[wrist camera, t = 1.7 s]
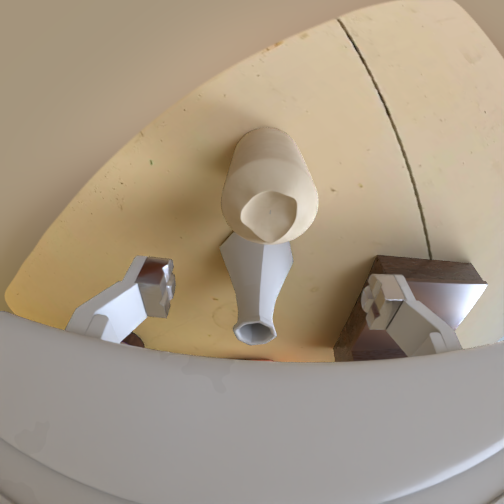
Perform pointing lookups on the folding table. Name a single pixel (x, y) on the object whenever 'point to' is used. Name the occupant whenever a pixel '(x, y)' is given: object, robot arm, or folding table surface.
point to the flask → (255, 284)
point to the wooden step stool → (424, 290)
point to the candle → (268, 189)
